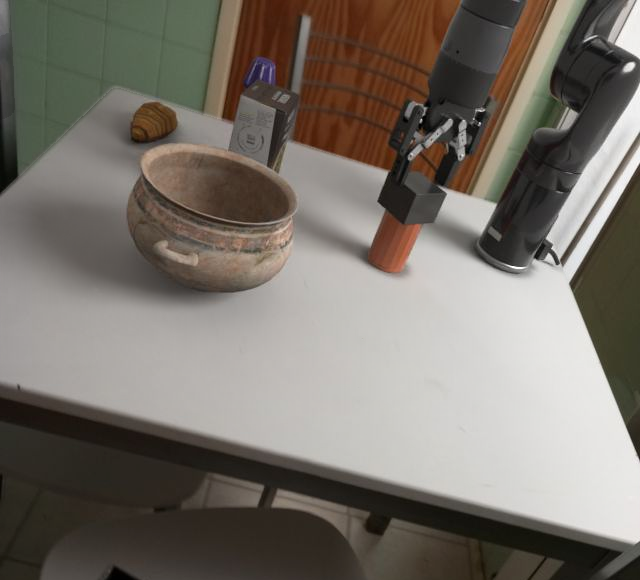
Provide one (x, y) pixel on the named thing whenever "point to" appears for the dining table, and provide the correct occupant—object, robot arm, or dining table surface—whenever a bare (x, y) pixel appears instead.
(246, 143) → the coffee box
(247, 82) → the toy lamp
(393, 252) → the cup
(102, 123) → the dining table surface
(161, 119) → the croissant
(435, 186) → the block
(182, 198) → the cooking pot
